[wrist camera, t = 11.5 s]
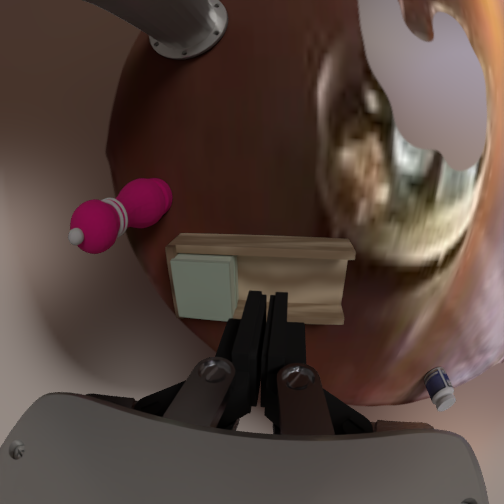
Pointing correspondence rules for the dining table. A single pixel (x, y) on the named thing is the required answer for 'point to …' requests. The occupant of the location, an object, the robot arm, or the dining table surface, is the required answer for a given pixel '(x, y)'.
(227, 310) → the grey-green block
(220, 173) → the dining table surface
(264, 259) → the bay
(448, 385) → the pill bottle
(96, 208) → the pepper mill
